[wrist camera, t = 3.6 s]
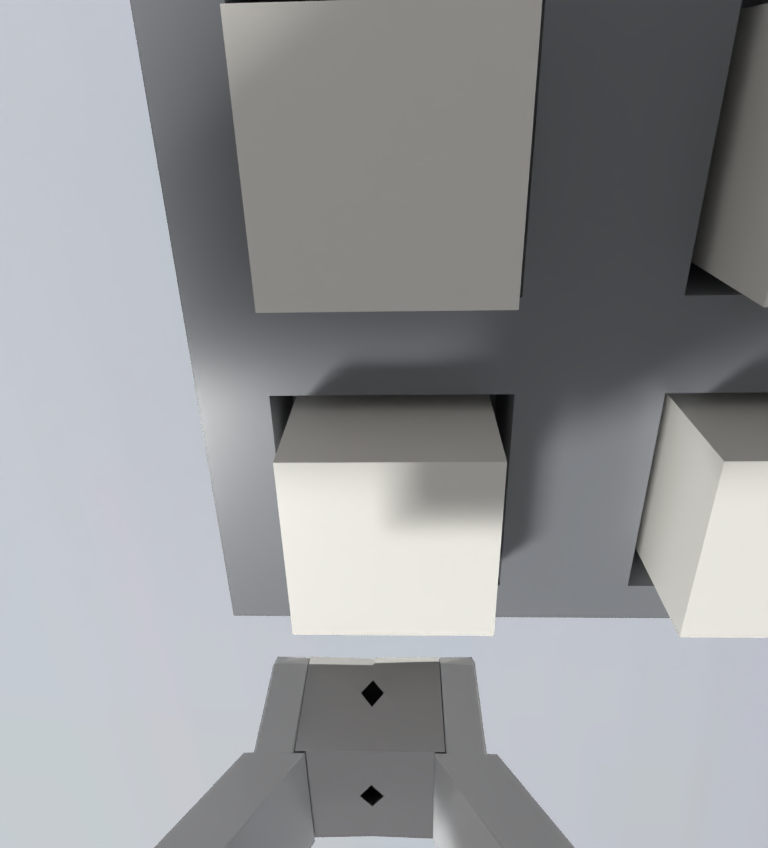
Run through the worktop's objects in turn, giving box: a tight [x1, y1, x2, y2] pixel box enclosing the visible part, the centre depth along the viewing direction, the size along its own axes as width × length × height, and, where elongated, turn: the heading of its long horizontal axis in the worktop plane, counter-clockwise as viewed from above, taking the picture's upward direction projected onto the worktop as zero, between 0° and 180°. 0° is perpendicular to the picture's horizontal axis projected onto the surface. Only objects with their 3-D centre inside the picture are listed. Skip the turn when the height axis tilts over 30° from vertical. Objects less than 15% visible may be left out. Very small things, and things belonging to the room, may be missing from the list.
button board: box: [130, 0, 768, 618], centre depth 14 cm, size 16×14×4 cm
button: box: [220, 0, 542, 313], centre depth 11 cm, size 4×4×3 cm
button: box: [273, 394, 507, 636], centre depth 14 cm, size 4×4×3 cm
